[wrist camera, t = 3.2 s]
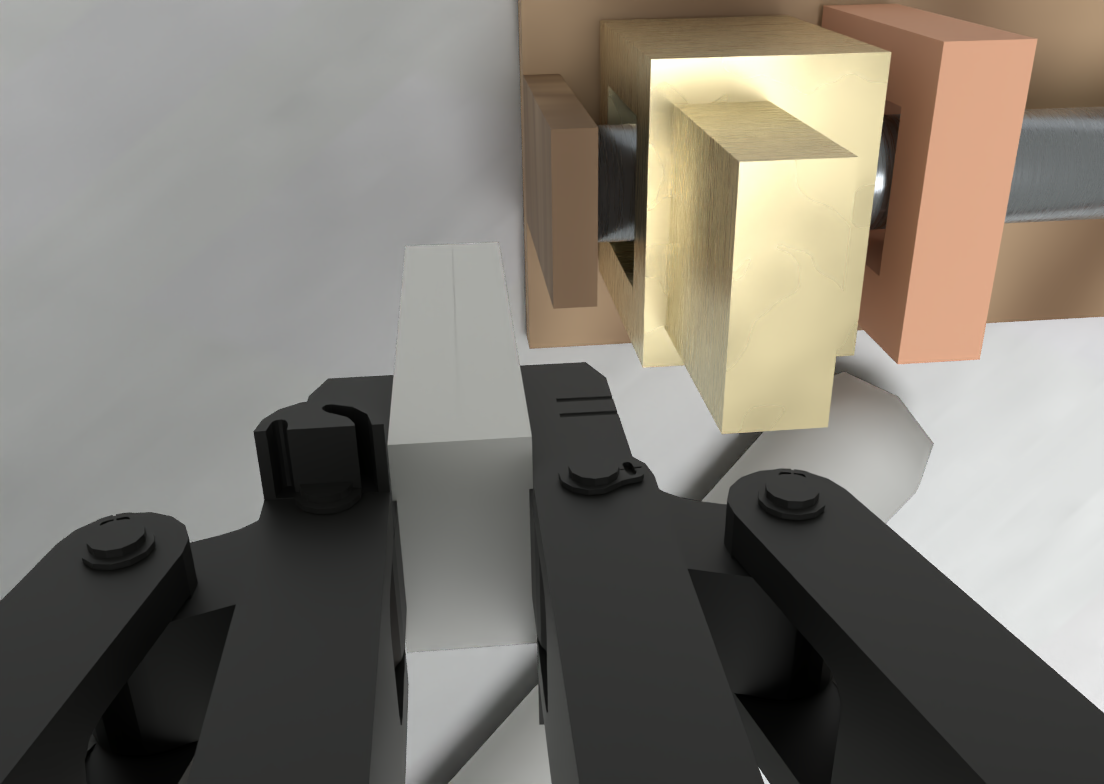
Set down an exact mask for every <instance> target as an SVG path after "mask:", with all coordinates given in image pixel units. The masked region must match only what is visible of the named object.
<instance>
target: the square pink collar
mask: <svg viewBox="0 0 1104 784" xmlns="http://www.w3.org/2000/svg"><path fill="white" fill-rule="evenodd" d="M821 27H823V28H825V29H828V30H831V31H834V32H837V33H839V34H842V35H845V36H848V37H851V38H854V39H856V40H859V41H862V42H865V43H868V44H870V45H873V46H876V47H879V48H882V49H884V50H887V51H890V52H891V59H890V68H889V76H888V84H887V92H886V100H885V108H884V115H889V114H901V115H900V122H899V130H898V138H897V145H896V153H895V161H894V168H893V176H892V184H891V191H890V199H889V207H888V215H887V222H886V229H873V230H869V238H868V246H867V254H866V262H865V270H864V278H863V286H862V295H861V303H860V311H859V319H858V325H859V326H860V327H861V328H862V329H863V330H864V331H865V332H866V333H867V334H868V335H869V336H870V337H871V338H872V339H873V340H874V341H875V342H876V343H877V344H878V345H879V346H880V347H881V348H882V349H883V350H884V351H885V352H886V353H887V354H888V355H889V356H890V357H891V358H892V359H893V360H894V361H895V362H896V363H897V364H910V363H927V362H944V361H961V360H977V359H980V354H981V349H982V343H983V338H984V332H985V327H986V321H987V316H988V310H989V305H990V299H991V293H992V288H993V282H994V277H995V271H996V266H997V260H998V255H999V249H1000V244H1001V238H1002V233H1003V227H1004V222H1005V216H1006V211H1007V205H1008V200H1009V194H1010V189H1011V183H1012V178H1013V172H1014V167H1015V161H1016V156H1017V150H1018V144H1019V139H1020V133H1021V128H1022V122H1023V117H1024V111H1025V106H1026V100H1027V95H1028V89H1029V84H1030V78H1031V73H1032V67H1033V62H1034V56H1035V51H1036V45H1037V40H1038V39H1036V38H1032V37H1028V36H1024V35H1020V34H1016V33H1012V32H1008V31H1004V30H1000V29H996V28H992V27H988V26H984V25H980V24H976V23H972V22H968V21H964V20H960V19H956V18H952V17H948V16H944V15H940V14H936V13H932V12H928V11H924V10H920V9H916V8H912V7H908V6H904V5H900V4H861V5H823V15H822V25H821Z"/></svg>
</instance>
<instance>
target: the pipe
mask: <svg viewBox="0 0 1104 784" xmlns="http://www.w3.org/2000/svg"><path fill="white" fill-rule="evenodd" d="M900 115H901V114H889V115H884V116H883V124H882V132H881V141H880V149H879V157H878V165H877V173H876V181H875V189H874V197H873V205H872V214H871V222H870V230H873V229H886V222H887V215H888V207H889V199H890V191H891V184H892V176H893V168H894V161H895V153H896V145H897V138H898V130H899V122H900ZM597 126H598V242H618V241H634V229H635V183H636V137H637V124H615V125H597ZM1087 219H1104V107H1080V108H1053V109H1026V110H1025V111H1024V117H1023V122H1022V128H1021V133H1020V139H1019V144H1018V150H1017V156H1016V161H1015V167H1014V172H1013V178H1012V183H1011V189H1010V194H1009V200H1008V205H1007V211H1006V216H1005V222H1004V223H1023V222H1044V221H1065V220H1087Z"/></svg>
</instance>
